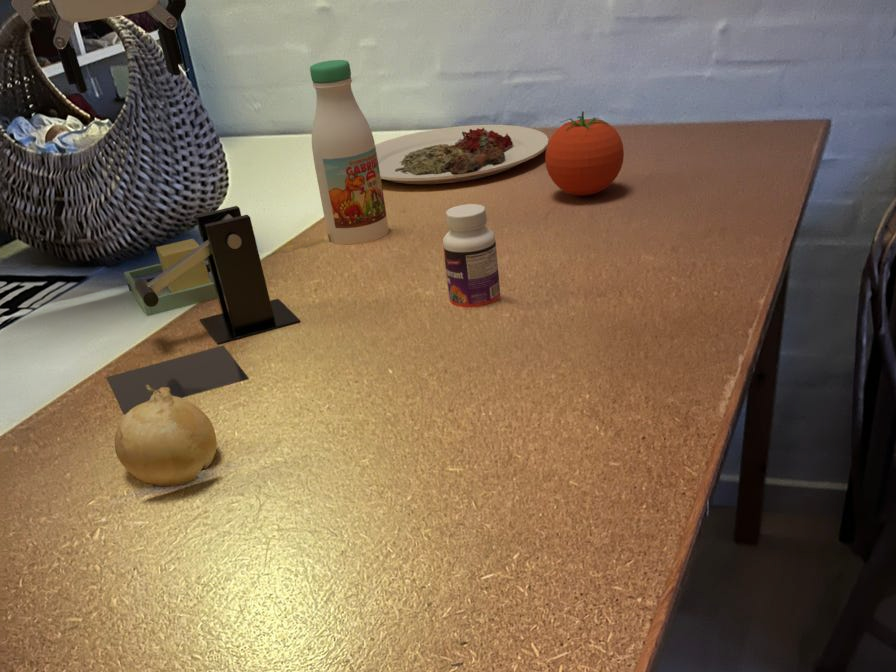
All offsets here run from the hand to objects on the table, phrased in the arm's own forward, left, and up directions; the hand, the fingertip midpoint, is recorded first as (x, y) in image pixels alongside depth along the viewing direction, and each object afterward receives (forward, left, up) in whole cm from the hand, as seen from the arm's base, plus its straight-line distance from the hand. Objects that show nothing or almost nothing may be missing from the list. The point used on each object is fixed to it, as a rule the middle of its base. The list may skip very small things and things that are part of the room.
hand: (129, 82), depth 101 cm
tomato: (+54, 0, -22) cm, 58 cm away
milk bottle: (+23, +4, -22) cm, 32 cm away
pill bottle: (+25, -26, -22) cm, 43 cm away
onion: (-11, -43, -22) cm, 50 cm away
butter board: (-7, -26, -22) cm, 35 cm away
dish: (0, 0, -22) cm, 22 cm away
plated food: (+48, +30, -22) cm, 61 cm away
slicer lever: (-1, -16, -15) cm, 22 cm away
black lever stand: (+3, -16, -22) cm, 28 cm away
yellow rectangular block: (0, 0, -22) cm, 22 cm away
